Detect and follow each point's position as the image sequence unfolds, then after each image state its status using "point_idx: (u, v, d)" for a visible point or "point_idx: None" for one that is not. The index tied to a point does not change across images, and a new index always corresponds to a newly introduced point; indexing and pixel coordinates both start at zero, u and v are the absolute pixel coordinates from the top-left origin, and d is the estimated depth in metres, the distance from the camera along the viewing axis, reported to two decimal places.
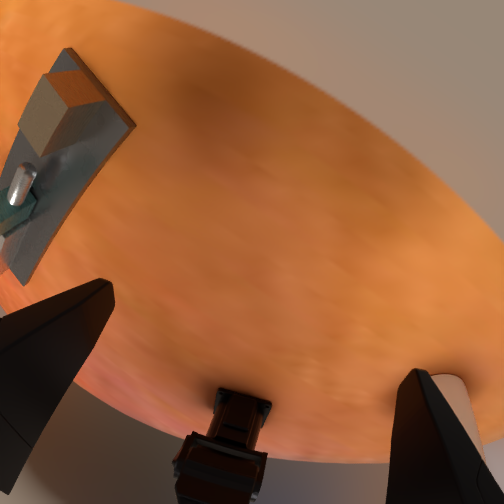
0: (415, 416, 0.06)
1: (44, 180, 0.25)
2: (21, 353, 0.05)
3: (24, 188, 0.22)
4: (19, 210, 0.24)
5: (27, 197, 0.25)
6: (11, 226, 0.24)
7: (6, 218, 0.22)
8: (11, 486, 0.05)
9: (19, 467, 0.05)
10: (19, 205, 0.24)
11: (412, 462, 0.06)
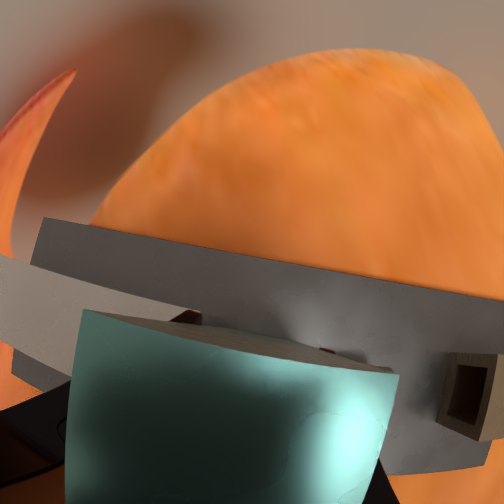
0: None
1: None
2: None
3: None
4: None
5: None
6: None
7: None
8: None
9: None
10: None
11: None
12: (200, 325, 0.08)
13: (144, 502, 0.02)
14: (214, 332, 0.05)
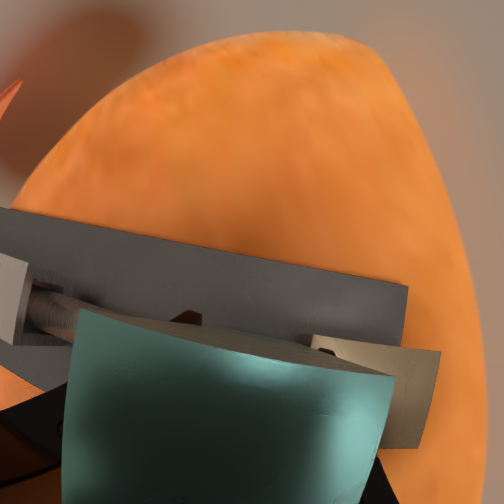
0: None
1: None
2: None
3: None
4: None
5: None
6: None
7: None
8: None
9: None
10: None
11: None
12: (199, 325, 0.08)
13: (140, 501, 0.02)
14: (213, 332, 0.05)
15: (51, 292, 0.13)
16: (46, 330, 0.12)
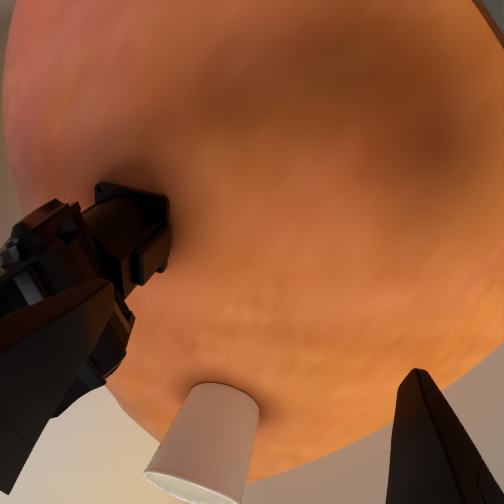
0: (415, 416, 0.06)
1: None
2: (21, 353, 0.05)
3: None
4: None
5: None
6: None
7: None
8: (11, 486, 0.05)
9: (19, 467, 0.05)
10: None
11: (412, 462, 0.06)
12: None
13: None
14: None
15: None
16: None
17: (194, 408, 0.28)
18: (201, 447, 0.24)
